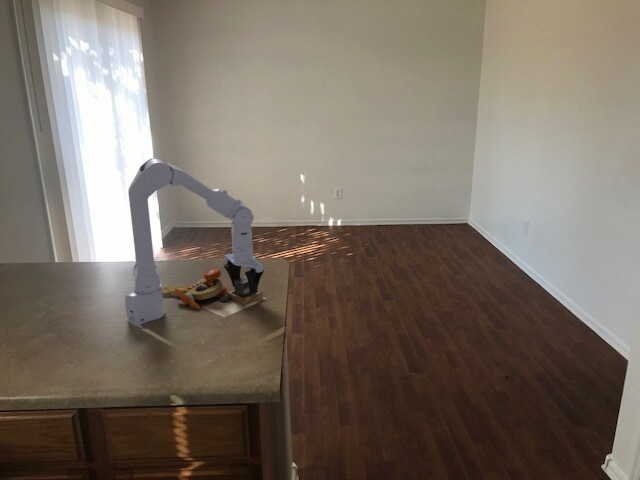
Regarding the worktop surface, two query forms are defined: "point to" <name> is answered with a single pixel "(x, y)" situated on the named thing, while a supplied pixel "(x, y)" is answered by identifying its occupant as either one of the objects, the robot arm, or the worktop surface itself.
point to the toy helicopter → (198, 289)
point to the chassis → (233, 303)
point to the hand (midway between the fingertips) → (244, 289)
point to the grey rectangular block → (242, 287)
